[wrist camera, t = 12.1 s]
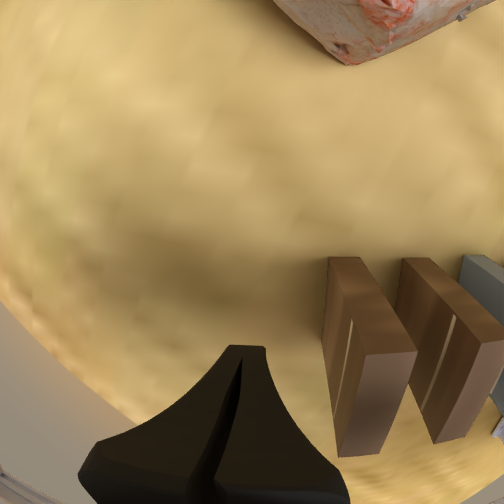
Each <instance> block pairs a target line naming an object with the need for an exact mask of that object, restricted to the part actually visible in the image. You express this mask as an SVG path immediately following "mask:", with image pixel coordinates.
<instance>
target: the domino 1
mask: <svg viewBox="0 0 504 504" xmlns="http://www.w3.org/2000/svg"><path fill="white" fill-rule="evenodd" d="M321 342H322V348H323V354H324V360H325V367H326V373H327V379H328V386H329V393H330V400H331V407H332V414H333V421H334V429H335V436H336V444H337V453H338V458H339V457H353V456H363V455H372V454H379V452H380V450H381V448H382V446H383V444H384V442H385V439H386V437H387V435H388V432H389V430H390V428H391V425H392V423H393V421H394V418H395V416H396V413H397V411H398V408H399V406H400V403H401V400H402V398H403V395H404V392H405V389H406V387H407V384H408V381H409V378H410V375H411V372H412V369H413V366H414V363H415V359H416V356H417V353H418V350H417V349H416V347H415V345H414V343H413V342H412V340H411V338H410V336H409V335H408V333H407V331H406V330H405V328H404V326H403V325H402V323H401V321H400V320H399V318H398V316H397V315H396V313H395V311H394V310H393V308H392V306H391V305H390V303H389V302H388V300H387V298H386V297H385V295H384V294H383V292H382V290H381V289H380V287H379V286H378V284H377V283H376V281H375V279H374V278H373V276H372V275H371V273H370V272H369V270H368V269H367V267H366V266H365V264H364V263H363V261H362V260H361V258H360V257H329V263H328V276H327V289H326V300H325V311H324V321H323V331H322V340H321Z"/></svg>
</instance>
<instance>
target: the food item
mask: <svg viewBox="0 0 504 504" xmlns="http://www.w3.org/2000/svg"><path fill="white" fill-rule="evenodd" d="M273 1H274V2H275V4H276V5H277V6H278V7H279V8H281V9H282V10H283V11H284V12H285V13H286V14H287V15H288V16H289V17H290V18H291V19H292V20H293V21H294V22H295V23H296V24H297V25H299V26H300V27H302V28H303V29H305V30H306V31H307V32H308V33H309V34H311V35H312V36H313V37H314V38H315V39H316V40H318V41H319V42H320V43H321V44H322V45H323V47H324V48H325V49H326V50H327V51H328V52H329V53H331V54H332V55H333V56H335V57H336V58H337V59H339V60H340V61H341V62H343V63H344V64H345V65H349V64H354V65H358V64H361V63H363V62H366V61H369V60H372V59H376V58H378V57H380V56H383V55H385V54H388V53H390V52H393V51H395V50H397V49H399V48H402V47H404V46H406V45H409V44H411V43H413V42H415V41H417V40H419V39H420V38H422V37H424V36H426V35H428V34H430V33H432V32H434V31H436V30H438V29H440V28H442V27H444V26H446V25H447V24H449V23H451V22H453V21H455V20H458V21H459V22H460V21H462V20H464V19H466V18H467V17H465V15H467V14H469V13H470V12H472V11H474V10H476V9H477V8H479V7H481V6H484V5H487V4H489V3H491V2H493V1H495V0H273Z"/></svg>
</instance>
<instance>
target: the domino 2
mask: <svg viewBox="0 0 504 504" xmlns="http://www.w3.org/2000/svg"><path fill="white" fill-rule="evenodd" d="M394 311H395V313H396V315H397V316H398V318H399V320H400V321H401V323H402V325H403V326H404V328H405V330H406V331H407V333H408V335H409V336H410V338H411V340H412V342H413V343H414V345H415V347H416V349H417V350H418V353H417V356H416V359H415V363H414V366H413V369H412V372H411V375H410V378H409V381H408V384H409V386H410V388H411V390H412V393H413V395H414V397H415V400H416V402H417V404H418V407H419V409H420V411H421V414H422V416H423V419H424V421H425V424H426V426H427V429H428V431H429V434H430V436H431V439H432V441H433V444H437V443H442V442H446V441H450V440H454V439H458V438H462V437H465V436H466V434H467V432H468V431H469V429H470V427H471V426H472V424H473V422H474V421H475V419H476V417H477V415H478V414H479V412H480V410H481V408H482V406H483V405H484V403H485V401H486V399H487V397H488V395H489V393H490V391H491V389H492V387H493V385H494V383H495V381H496V379H497V377H498V375H499V373H500V370H501V368H502V366H503V364H504V327H503V326H502V325H501V324H500V323H499V322H498V321H497V320H496V319H495V318H494V317H493V316H492V315H491V314H490V313H489V312H488V311H487V310H486V309H485V308H484V307H483V306H482V305H481V304H480V303H479V302H478V301H477V300H476V299H475V298H473V297H472V296H471V295H470V294H469V293H468V292H467V291H466V290H465V289H464V288H463V287H462V286H460V285H459V284H458V283H457V282H456V281H455V280H454V279H453V278H452V277H450V276H449V275H448V274H447V273H446V272H445V271H444V270H442V269H441V268H440V267H439V266H438V265H437V264H435V263H434V262H433V261H432V260H431V259H430V258H403V260H402V267H401V274H400V280H399V286H398V292H397V298H396V303H395V308H394Z"/></svg>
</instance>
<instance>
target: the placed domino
mask: <svg viewBox="0 0 504 504" xmlns="http://www.w3.org/2000/svg"><path fill="white" fill-rule="evenodd" d="M458 284H459V285H460V286H462V287H463V288H464V289H465V290H466V291H467V292H468V293H469V294H470V295H471V296H472V297H473V298H475V299H476V300H477V301H478V302H479V303H480V304H481V305H482V306H483V307H484V308H485V309H486V310H487V311H488V312H489V313H490V314H491V315H492V316H493V317H494V318H495V319H496V320H497V321H498V322H499V323H500V324H501V325H502V326H503V327H504V268H503V267H501V266H500V265H498V264H497V263H495V262H494V261H492V260H491V259H489V258H488V257H486V256H485V255H464V256H463V262H462V267H461V272H460V277H459V281H458ZM489 395H490V397H491V398H492V400H493V402H494V403H495V405H496V406H497V408H498V410H499V411H500V413H501V414H502V416H503V418H504V364H503V366H502V368H501V370H500V373H499V375H498V377H497V379H496V381H495V383H494V385H493V387H492V389H491V391H490V393H489Z"/></svg>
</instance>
